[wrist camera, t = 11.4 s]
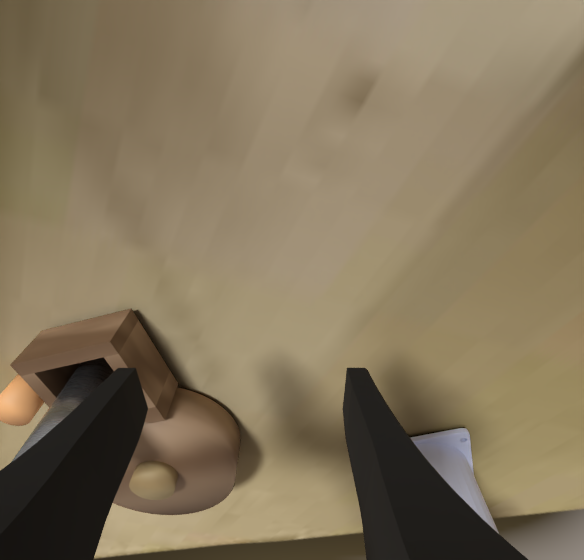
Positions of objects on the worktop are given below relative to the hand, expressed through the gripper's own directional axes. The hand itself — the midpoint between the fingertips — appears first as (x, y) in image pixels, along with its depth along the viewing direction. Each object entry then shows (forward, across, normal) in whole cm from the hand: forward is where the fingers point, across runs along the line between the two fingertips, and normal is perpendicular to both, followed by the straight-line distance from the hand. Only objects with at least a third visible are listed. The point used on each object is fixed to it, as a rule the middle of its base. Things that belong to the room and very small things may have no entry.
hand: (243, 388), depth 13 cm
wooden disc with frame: (+9, +9, +12) cm, 17 cm away
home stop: (+9, +16, +9) cm, 21 cm away
